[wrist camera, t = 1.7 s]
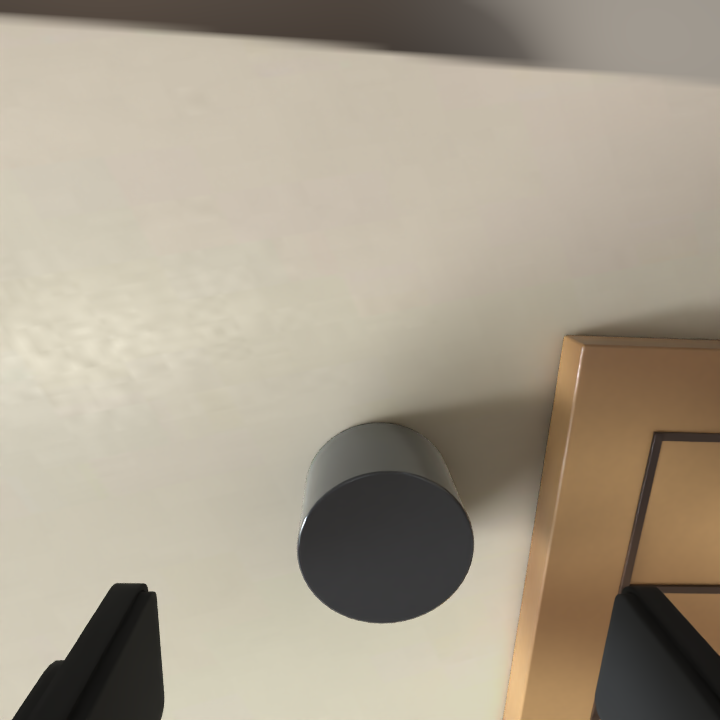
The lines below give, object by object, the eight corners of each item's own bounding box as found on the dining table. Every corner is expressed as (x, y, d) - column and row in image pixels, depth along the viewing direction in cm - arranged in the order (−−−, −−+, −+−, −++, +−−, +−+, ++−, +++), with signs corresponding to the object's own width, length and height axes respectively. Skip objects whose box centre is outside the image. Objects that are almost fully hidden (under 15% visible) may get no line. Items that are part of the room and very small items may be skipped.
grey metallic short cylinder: (306, 419, 14) (297, 470, 11) (455, 423, 14) (484, 473, 12) (304, 548, 15) (295, 624, 12) (442, 551, 16) (465, 625, 13)
